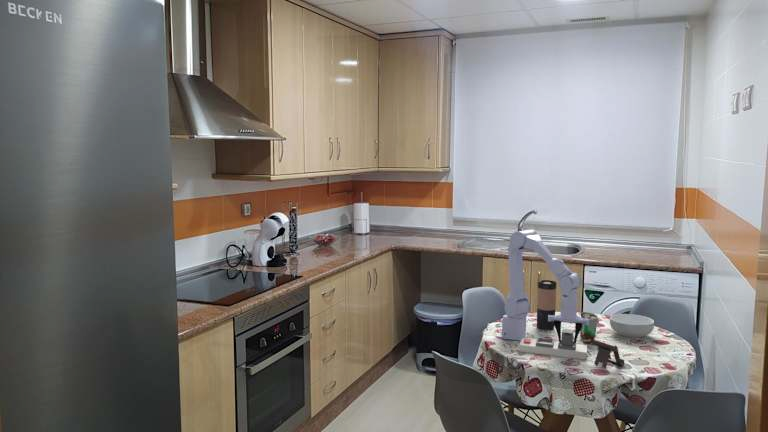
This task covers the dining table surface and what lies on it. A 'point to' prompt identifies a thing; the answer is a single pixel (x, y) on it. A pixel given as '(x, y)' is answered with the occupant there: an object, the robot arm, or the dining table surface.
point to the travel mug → (546, 304)
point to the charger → (567, 337)
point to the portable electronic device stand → (607, 354)
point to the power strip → (552, 348)
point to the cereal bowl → (631, 325)
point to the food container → (589, 327)
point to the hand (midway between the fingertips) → (567, 341)
